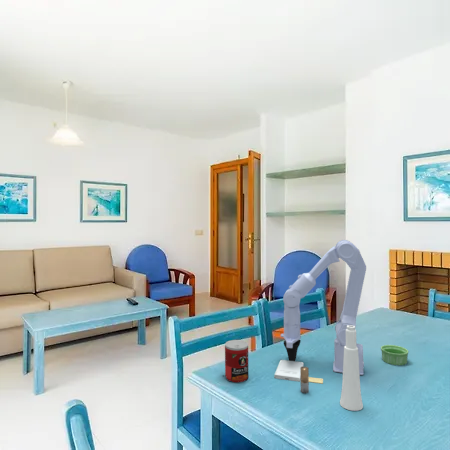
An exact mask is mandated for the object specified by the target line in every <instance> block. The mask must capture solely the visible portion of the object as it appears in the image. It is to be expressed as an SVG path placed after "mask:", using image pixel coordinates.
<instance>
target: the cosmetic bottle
mask: <svg viewBox="0 0 450 450" xmlns="http://www.w3.org/2000/svg"><path fill="white" fill-rule="evenodd" d="M356 342H357V329H356V327H355V326H353V325H347V329H346V346H344V360H343V373H342V385H341V391H340V392H341V393H340V399H339V405H340V406H341V407H342V408H343V409H345V410H348V411H353V412H356V411H357V412H358V411H361V410H363V408H364V404H363V399H362V393H361V391H362V390H361V380H360V379H361V378H360V376H361V375H359V356H358V348H357V347H356Z"/></svg>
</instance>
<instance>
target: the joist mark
mask: <svg viewBox="0 0 450 450" xmlns="http://www.w3.org/2000/svg"><path fill="white" fill-rule="evenodd" d="M309 383H315V384H322V385H323V384H324V378H320V377H319V378H318V377H311V376H309Z"/></svg>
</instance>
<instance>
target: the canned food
mask: <svg viewBox="0 0 450 450" xmlns="http://www.w3.org/2000/svg"><path fill="white" fill-rule="evenodd" d="M224 367H225V368H224V370H225V371H224V372H225V374H224V375H225V378H226V380H227V379H228V380H227V381H229V382H231V381H232V382H231V383H243V382H246V381H247V380H248V378H249V343H248V342H247V341H244V340H241V339H232V340H228V341H226V342H225V344H224Z"/></svg>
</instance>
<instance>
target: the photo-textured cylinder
mask: <svg viewBox="0 0 450 450" xmlns="http://www.w3.org/2000/svg"><path fill="white" fill-rule="evenodd" d="M309 372H310V371H309V367H308V366H303V367H301V368H300V393H302V394H308V393H309V391H310V386H309V385H310V382H309V377H310V374H309Z"/></svg>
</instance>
